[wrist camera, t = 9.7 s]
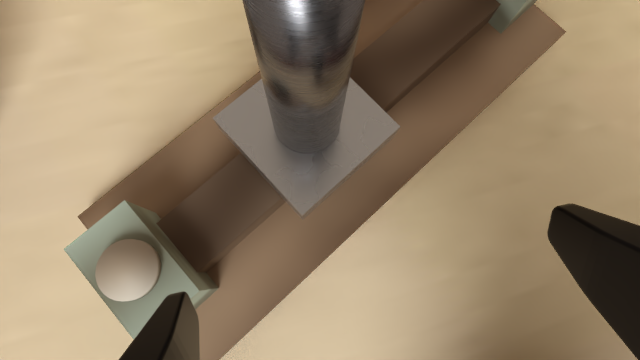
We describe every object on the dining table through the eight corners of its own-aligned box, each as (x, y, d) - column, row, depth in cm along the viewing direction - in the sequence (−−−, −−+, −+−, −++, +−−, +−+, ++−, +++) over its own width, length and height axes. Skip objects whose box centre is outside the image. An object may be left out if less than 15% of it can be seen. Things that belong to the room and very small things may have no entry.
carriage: (394, 137, 19) (509, -52, 8) (302, 219, 18) (291, 132, 7) (311, 55, 20) (312, -216, 9) (219, 129, 19) (93, -75, 8)
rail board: (555, 41, 24) (616, -17, 19) (208, 369, 19) (174, 400, 14) (436, -61, 26) (466, -138, 21) (88, 219, 21) (22, 202, 16)
